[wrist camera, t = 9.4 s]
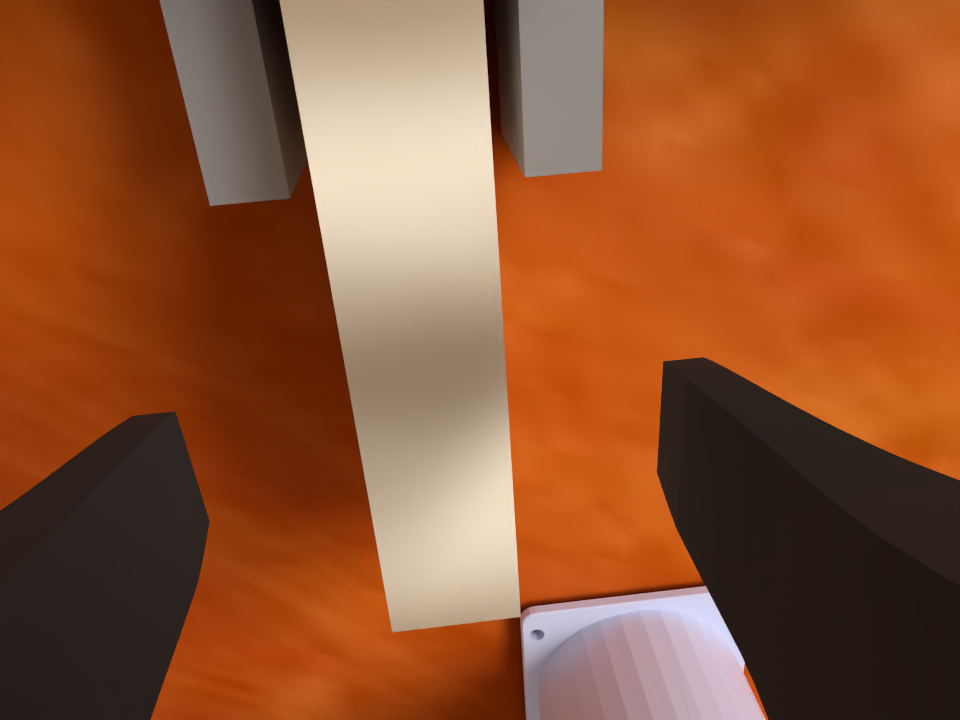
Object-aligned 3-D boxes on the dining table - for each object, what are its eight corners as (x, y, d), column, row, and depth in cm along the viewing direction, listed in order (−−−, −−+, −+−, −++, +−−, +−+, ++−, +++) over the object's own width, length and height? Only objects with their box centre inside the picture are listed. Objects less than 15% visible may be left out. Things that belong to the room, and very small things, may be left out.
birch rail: (494, 463, 23) (521, 616, 17) (394, 475, 23) (391, 632, 17) (454, -70, 16) (480, -84, 11) (311, -59, 16) (265, -67, 11)
